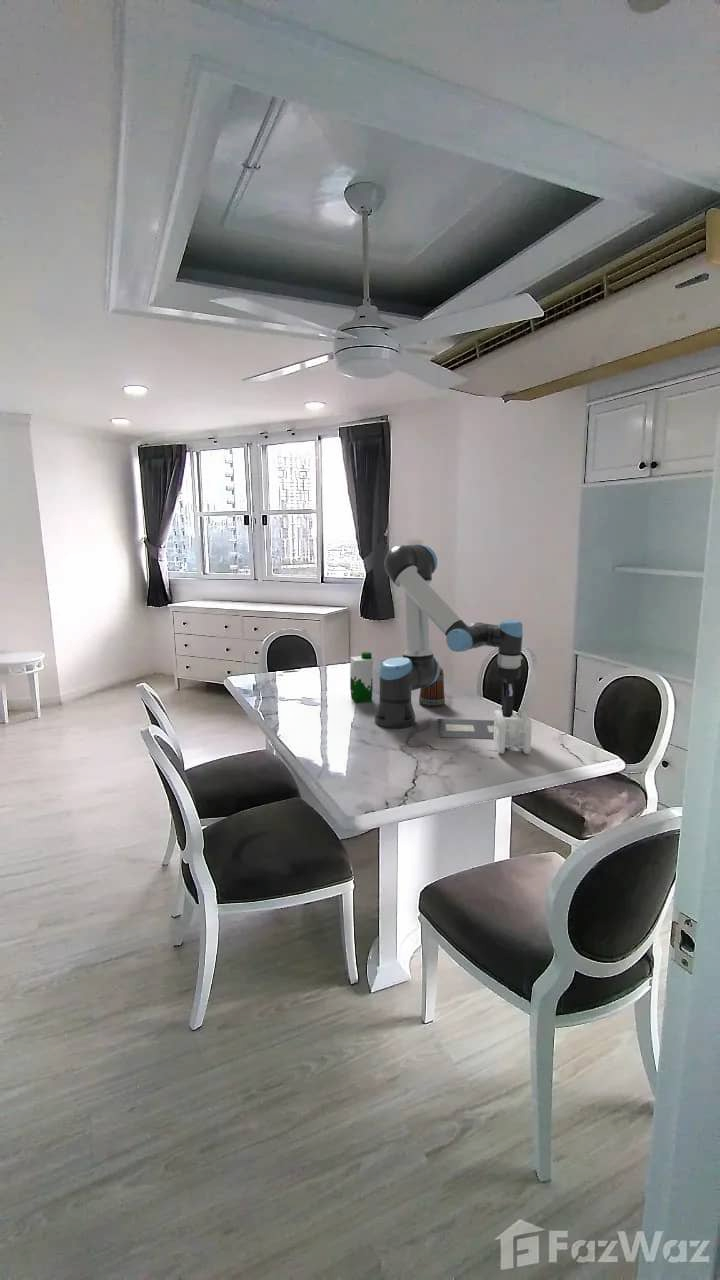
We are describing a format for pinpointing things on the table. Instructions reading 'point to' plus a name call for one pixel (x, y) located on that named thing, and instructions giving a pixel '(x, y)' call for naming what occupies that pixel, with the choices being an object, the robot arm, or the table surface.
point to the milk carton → (361, 678)
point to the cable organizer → (512, 731)
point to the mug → (433, 693)
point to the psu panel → (466, 728)
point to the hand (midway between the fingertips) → (505, 732)
